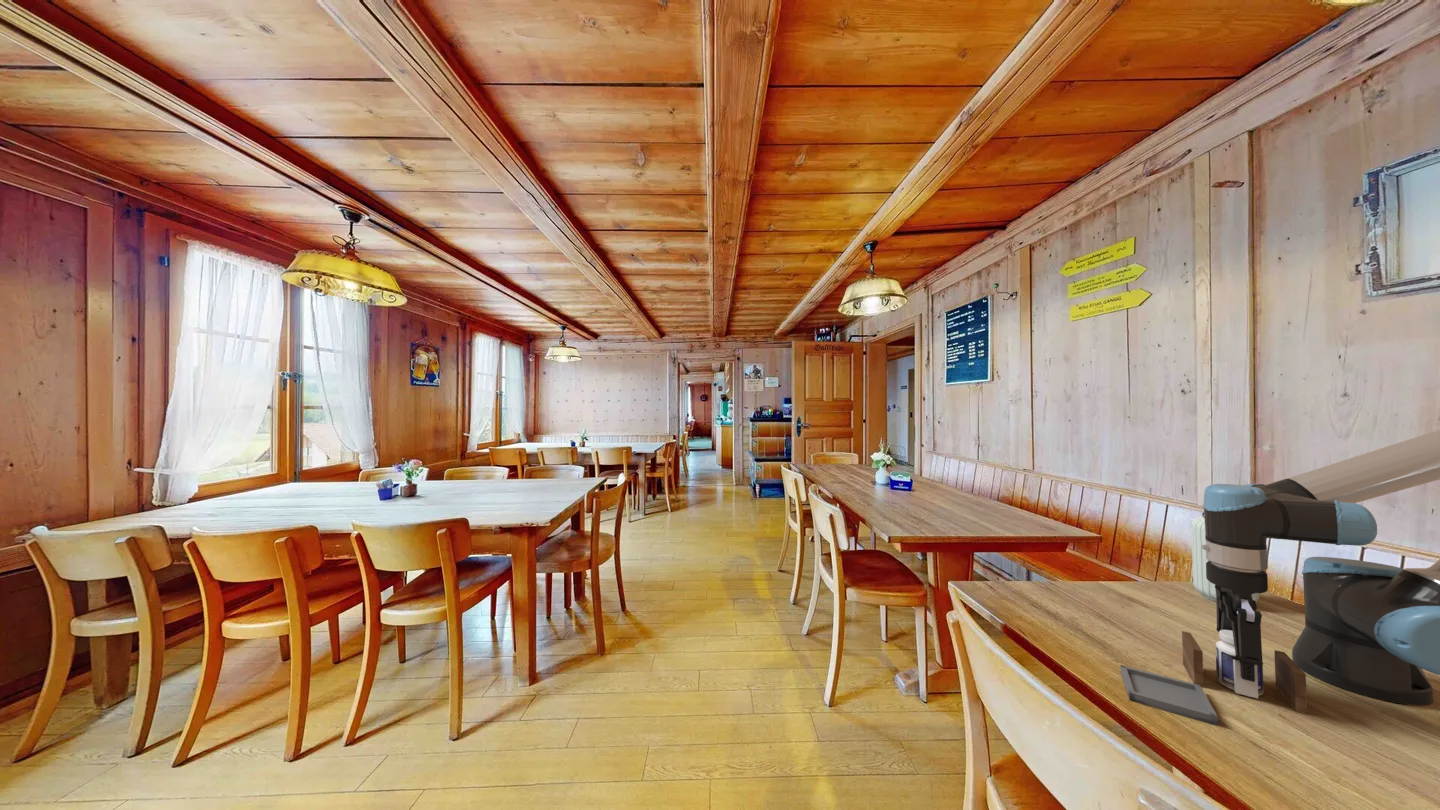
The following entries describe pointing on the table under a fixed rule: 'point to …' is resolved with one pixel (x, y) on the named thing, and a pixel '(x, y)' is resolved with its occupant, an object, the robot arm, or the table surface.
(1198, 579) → the vase
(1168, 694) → the tray
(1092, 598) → the table surface
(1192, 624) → the table surface
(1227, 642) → the pill bottle
